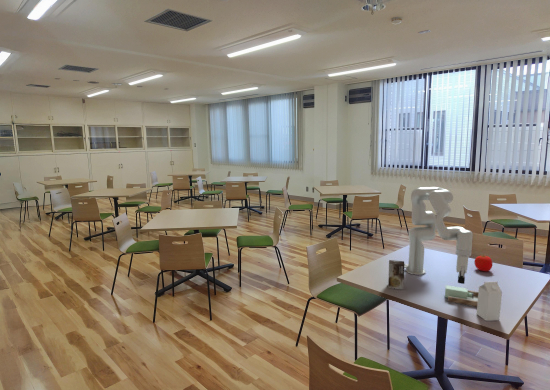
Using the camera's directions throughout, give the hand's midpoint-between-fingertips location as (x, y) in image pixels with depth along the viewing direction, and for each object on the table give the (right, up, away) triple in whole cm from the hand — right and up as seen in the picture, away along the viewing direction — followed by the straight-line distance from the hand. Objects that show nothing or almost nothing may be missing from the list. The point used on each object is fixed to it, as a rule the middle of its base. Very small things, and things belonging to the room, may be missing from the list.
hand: (461, 282), depth 189 cm
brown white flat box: (+4, -10, 0) cm, 10 cm away
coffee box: (-31, -8, +18) cm, 36 cm away
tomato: (+40, -3, +44) cm, 59 cm away
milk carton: (+3, -13, -19) cm, 23 cm away
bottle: (-7, -6, +4) cm, 10 cm away
